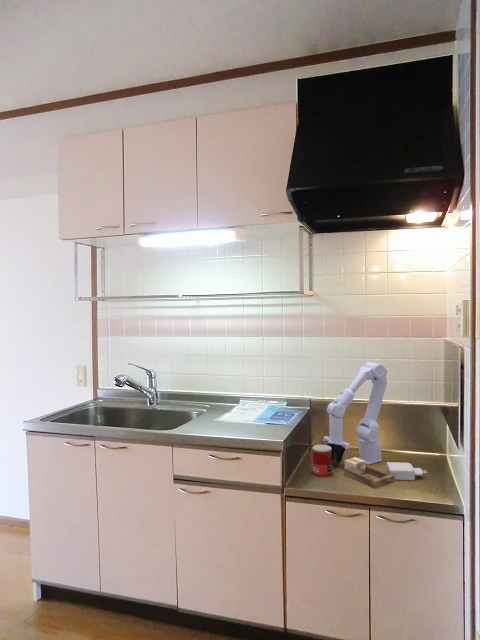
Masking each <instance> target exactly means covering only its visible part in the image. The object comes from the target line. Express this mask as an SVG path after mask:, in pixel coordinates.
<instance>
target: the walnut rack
mask: <svg viewBox="0 0 480 640" xmlns="http://www.w3.org/2000/svg"><path fill="white" fill-rule="evenodd" d="M365 474H368V475H371V476H373V477H376V478H375V479H374V478H372V477H369V476H367V475H365ZM365 474H360V473H357V472H355V471H352V470H350V469H347V468H346V469H345V468H343V476H345V477H347V478H349V479H352V480H355V481H358V482H359V483H362V484H364V485H367V486H369V487H371V488H373V489H378V488H381V487H383V486H386V485H389V484H393V483H395V480H394V475H391V474H389V473H387V471H386V472H385V471H383V470H380V469H378V468H376V467H372V466H370V465H368V464H366V473H365Z"/></svg>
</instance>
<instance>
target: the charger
mask: <svg viewBox="0 0 480 640" xmlns="http://www.w3.org/2000/svg"><path fill="white" fill-rule="evenodd" d="M385 465H386V469H385V470H386V473H388V474H391V475H394V481H411V482H412V481H414V480H416V479H415V478H416V477H417V476H418V477H419V476H420V477H421V476H422V477H423V475H424V474H428V472H427V470H425V469H423V470H422V468H421V467H413V465H412V464H411V463H410V462H397V461H396V462H392V461H391V462H390V461H387V462H386V464H385Z"/></svg>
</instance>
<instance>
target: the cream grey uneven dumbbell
mask: <svg viewBox="0 0 480 640" xmlns="http://www.w3.org/2000/svg"><path fill="white" fill-rule="evenodd" d="M358 458H359V457H356V456H355V457H351V458H347V459H344V465H343V464H341V462H339V463H338V462H337V461H336V452H334V461H333V465H334V466H335V467H340V468H343V469H346V468H347V469H350V470H352V471H355V472H357V473H360V474H362V475H365V474H367V473H366V465H367V464H366V461H364V460H361V459H358Z"/></svg>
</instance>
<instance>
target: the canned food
mask: <svg viewBox="0 0 480 640" xmlns="http://www.w3.org/2000/svg"><path fill="white" fill-rule="evenodd" d="M311 451H312V473H313V474H314V475H315V476H318V477H323V478H326V477H330V476H331V475H332V474H333V460H332V448H331V447H330V446H327V444H316V445H313V446H312V450H311Z"/></svg>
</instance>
